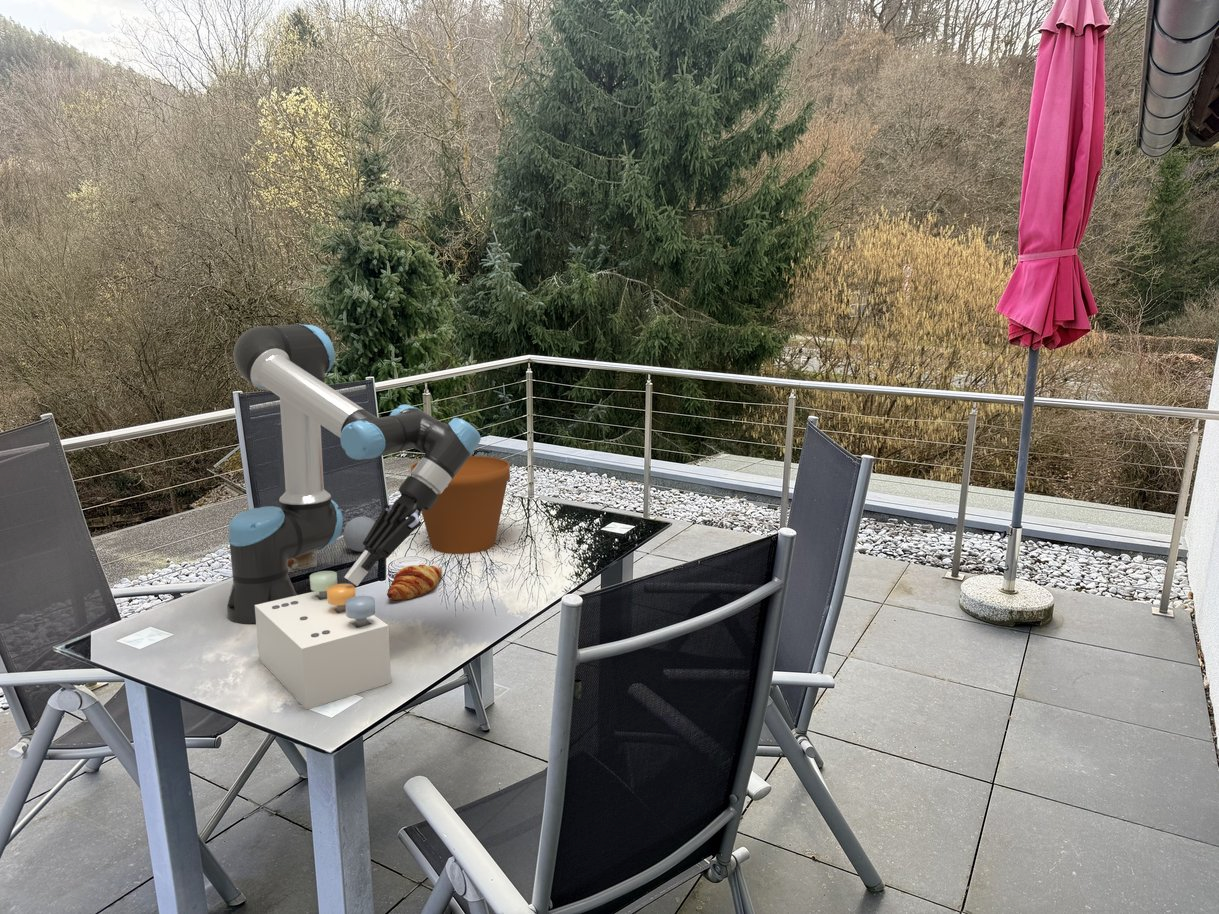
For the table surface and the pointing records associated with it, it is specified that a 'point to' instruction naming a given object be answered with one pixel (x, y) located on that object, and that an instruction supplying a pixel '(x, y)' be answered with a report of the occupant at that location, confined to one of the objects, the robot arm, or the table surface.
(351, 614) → the button slate
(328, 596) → the button orange
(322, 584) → the button sage
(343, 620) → the console
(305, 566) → the coffee box
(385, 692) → the table surface
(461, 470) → the flowerpot
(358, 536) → the grey ball
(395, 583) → the croissant
